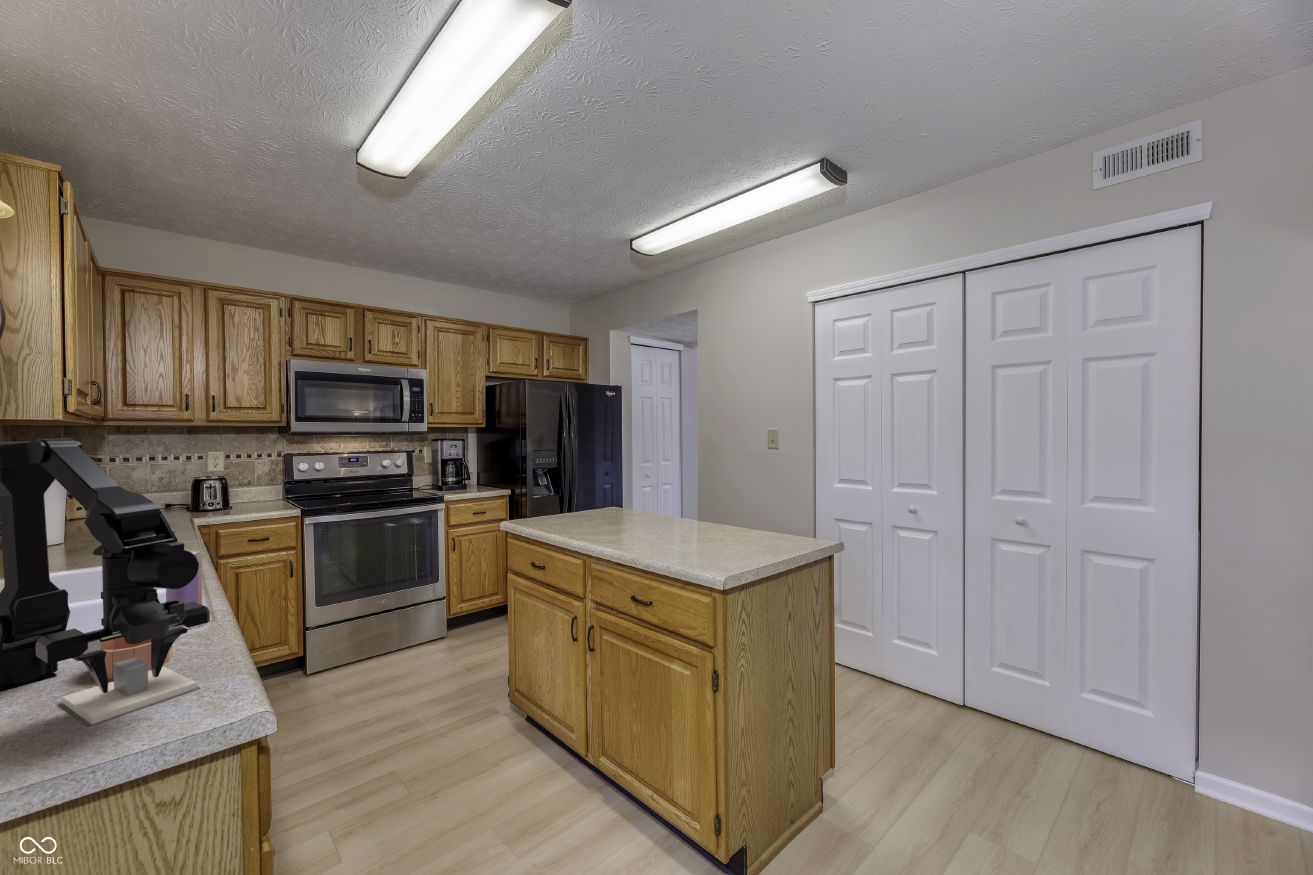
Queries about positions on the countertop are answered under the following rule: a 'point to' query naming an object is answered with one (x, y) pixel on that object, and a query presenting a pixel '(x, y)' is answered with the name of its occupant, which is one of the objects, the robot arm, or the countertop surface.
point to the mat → (115, 716)
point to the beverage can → (189, 586)
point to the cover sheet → (122, 704)
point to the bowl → (127, 653)
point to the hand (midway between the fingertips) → (130, 684)
